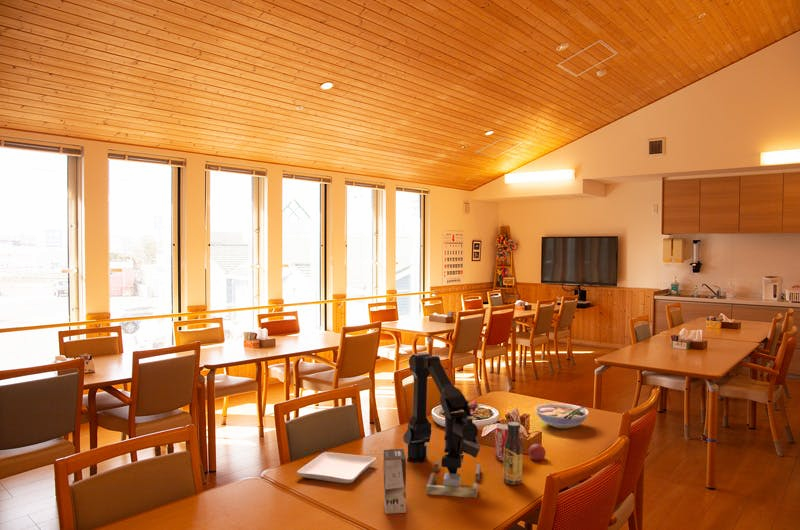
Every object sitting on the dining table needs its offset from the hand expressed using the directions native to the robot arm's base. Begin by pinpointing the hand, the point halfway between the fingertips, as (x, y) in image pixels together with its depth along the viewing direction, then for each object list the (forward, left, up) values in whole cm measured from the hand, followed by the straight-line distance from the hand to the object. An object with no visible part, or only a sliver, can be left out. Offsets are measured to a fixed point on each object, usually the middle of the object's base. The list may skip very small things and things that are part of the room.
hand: (454, 479), depth 188 cm
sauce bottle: (+19, +6, -2) cm, 20 cm away
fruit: (+27, +29, -2) cm, 40 cm away
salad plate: (-41, +4, -3) cm, 41 cm away
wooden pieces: (0, +3, -2) cm, 4 cm away
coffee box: (-16, -19, -2) cm, 25 cm away
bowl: (-2, +72, -3) cm, 72 cm away
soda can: (+16, +28, -2) cm, 32 cm away
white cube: (0, -4, -2) cm, 5 cm away
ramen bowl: (+40, +72, -2) cm, 82 cm away
